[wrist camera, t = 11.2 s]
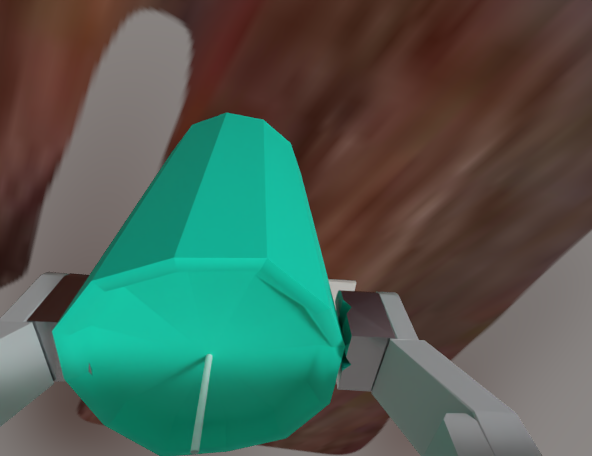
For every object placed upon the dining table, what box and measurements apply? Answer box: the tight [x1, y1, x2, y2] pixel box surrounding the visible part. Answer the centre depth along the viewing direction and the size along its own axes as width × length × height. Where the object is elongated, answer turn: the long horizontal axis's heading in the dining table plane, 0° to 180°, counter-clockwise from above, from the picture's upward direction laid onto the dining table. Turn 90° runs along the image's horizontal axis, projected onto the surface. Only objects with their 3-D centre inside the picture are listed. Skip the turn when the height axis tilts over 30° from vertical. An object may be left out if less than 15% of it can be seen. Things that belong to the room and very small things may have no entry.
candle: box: [52, 113, 345, 456], centre depth 11 cm, size 6×6×12 cm
